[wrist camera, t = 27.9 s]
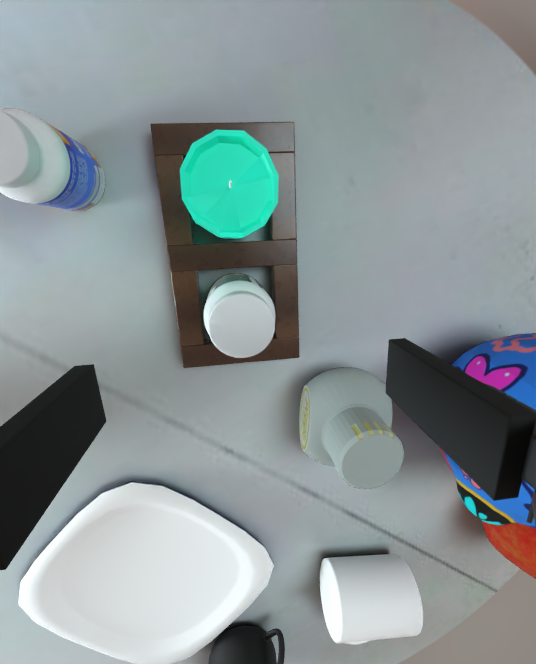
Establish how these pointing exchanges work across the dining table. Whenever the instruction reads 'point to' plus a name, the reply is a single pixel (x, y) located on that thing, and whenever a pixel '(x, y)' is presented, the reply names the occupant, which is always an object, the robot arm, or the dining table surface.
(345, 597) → the mug
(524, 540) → the apple
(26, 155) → the pill bottle
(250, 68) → the dining table surface
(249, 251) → the holder
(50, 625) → the plate
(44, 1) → the dining table surface
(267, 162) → the candle
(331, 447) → the air freshener
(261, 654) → the mug
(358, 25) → the dining table surface
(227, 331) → the pill bottle
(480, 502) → the ceramic pot
